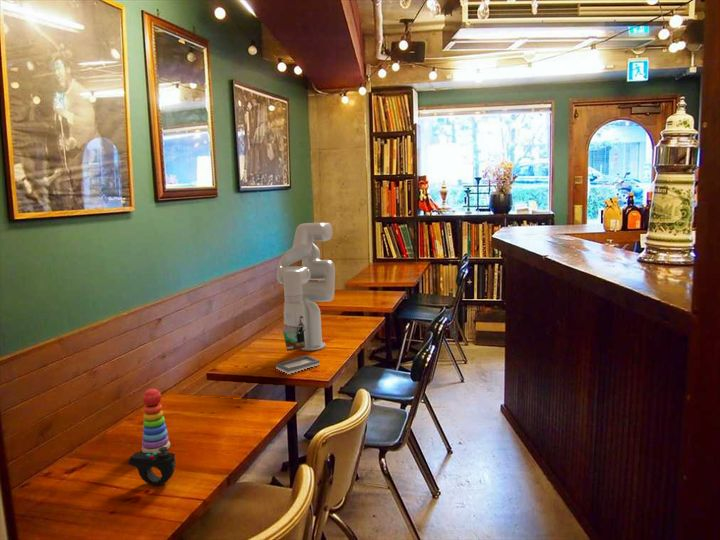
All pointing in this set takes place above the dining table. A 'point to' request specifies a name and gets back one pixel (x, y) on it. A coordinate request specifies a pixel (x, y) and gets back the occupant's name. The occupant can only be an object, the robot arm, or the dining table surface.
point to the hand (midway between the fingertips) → (296, 340)
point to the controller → (154, 465)
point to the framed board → (297, 364)
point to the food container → (292, 338)
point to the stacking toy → (153, 423)
